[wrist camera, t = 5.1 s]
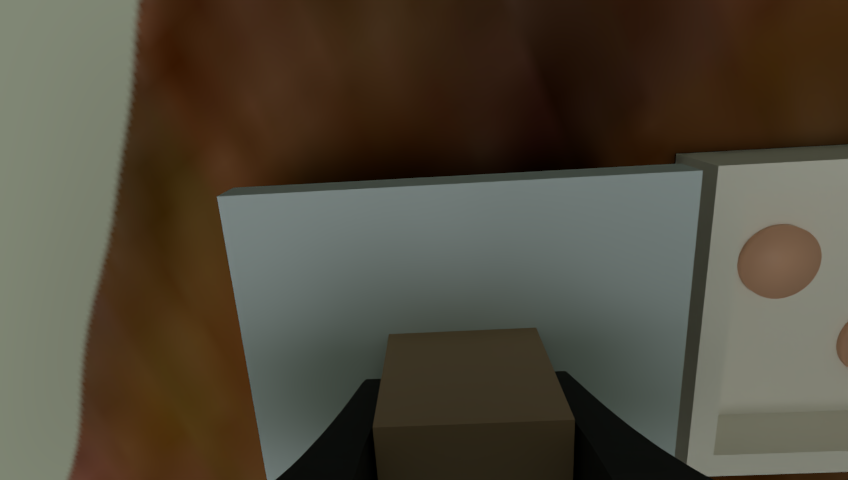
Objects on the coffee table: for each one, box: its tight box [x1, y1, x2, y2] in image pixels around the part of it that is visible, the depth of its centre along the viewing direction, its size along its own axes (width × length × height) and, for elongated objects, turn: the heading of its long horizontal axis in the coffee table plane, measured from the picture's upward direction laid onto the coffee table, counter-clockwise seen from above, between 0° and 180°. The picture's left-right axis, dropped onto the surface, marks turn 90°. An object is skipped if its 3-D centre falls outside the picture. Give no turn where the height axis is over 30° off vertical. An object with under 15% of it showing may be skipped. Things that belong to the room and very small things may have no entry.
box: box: [675, 144, 848, 476], centre depth 16 cm, size 10×10×2 cm
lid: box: [217, 164, 703, 480], centre depth 12 cm, size 11×11×4 cm
